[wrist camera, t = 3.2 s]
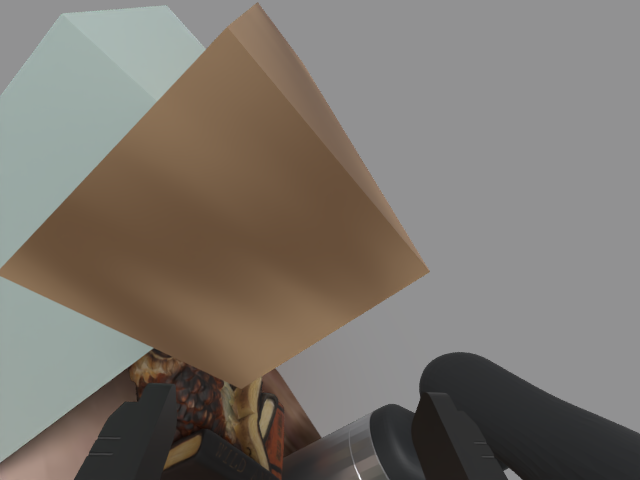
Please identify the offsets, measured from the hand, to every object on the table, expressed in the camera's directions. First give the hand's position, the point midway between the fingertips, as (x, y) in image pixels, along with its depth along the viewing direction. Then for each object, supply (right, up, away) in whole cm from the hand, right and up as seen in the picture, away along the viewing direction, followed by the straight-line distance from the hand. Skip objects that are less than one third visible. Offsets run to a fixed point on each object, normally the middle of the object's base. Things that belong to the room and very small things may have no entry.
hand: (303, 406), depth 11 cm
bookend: (-17, -16, +27) cm, 36 cm away
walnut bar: (-4, +10, +2) cm, 10 cm away
